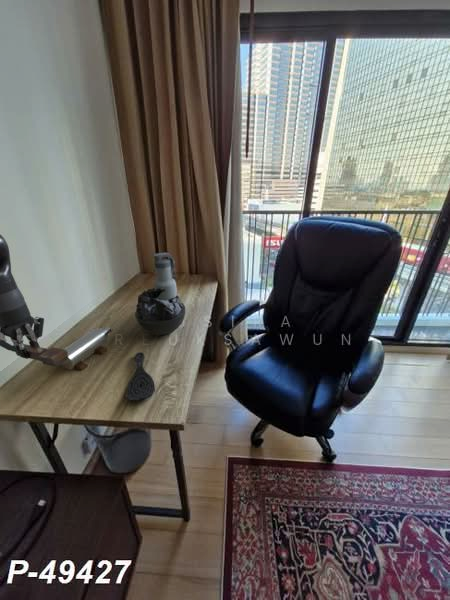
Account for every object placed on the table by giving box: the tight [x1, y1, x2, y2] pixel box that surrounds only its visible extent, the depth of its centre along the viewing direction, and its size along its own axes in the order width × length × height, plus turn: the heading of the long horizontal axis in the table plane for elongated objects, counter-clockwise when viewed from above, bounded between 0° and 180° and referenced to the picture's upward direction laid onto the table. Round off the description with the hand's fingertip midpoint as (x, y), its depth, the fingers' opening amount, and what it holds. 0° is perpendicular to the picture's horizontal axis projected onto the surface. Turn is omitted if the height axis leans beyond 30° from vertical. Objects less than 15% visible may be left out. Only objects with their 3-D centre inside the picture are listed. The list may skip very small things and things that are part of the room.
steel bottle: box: [60, 326, 113, 371], centre depth 92 cm, size 20×8×8 cm, turn 159°
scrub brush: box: [14, 343, 69, 368], centre depth 75 cm, size 19×4×3 cm, turn 69°
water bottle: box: [153, 252, 178, 300], centre depth 117 cm, size 10×10×28 cm
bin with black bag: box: [134, 287, 186, 336], centre depth 102 cm, size 20×20×19 cm
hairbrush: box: [126, 351, 156, 403], centre depth 81 cm, size 8×4×25 cm
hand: (31, 354), depth 77 cm, fingers closed on scrub brush, 2 cm apart
